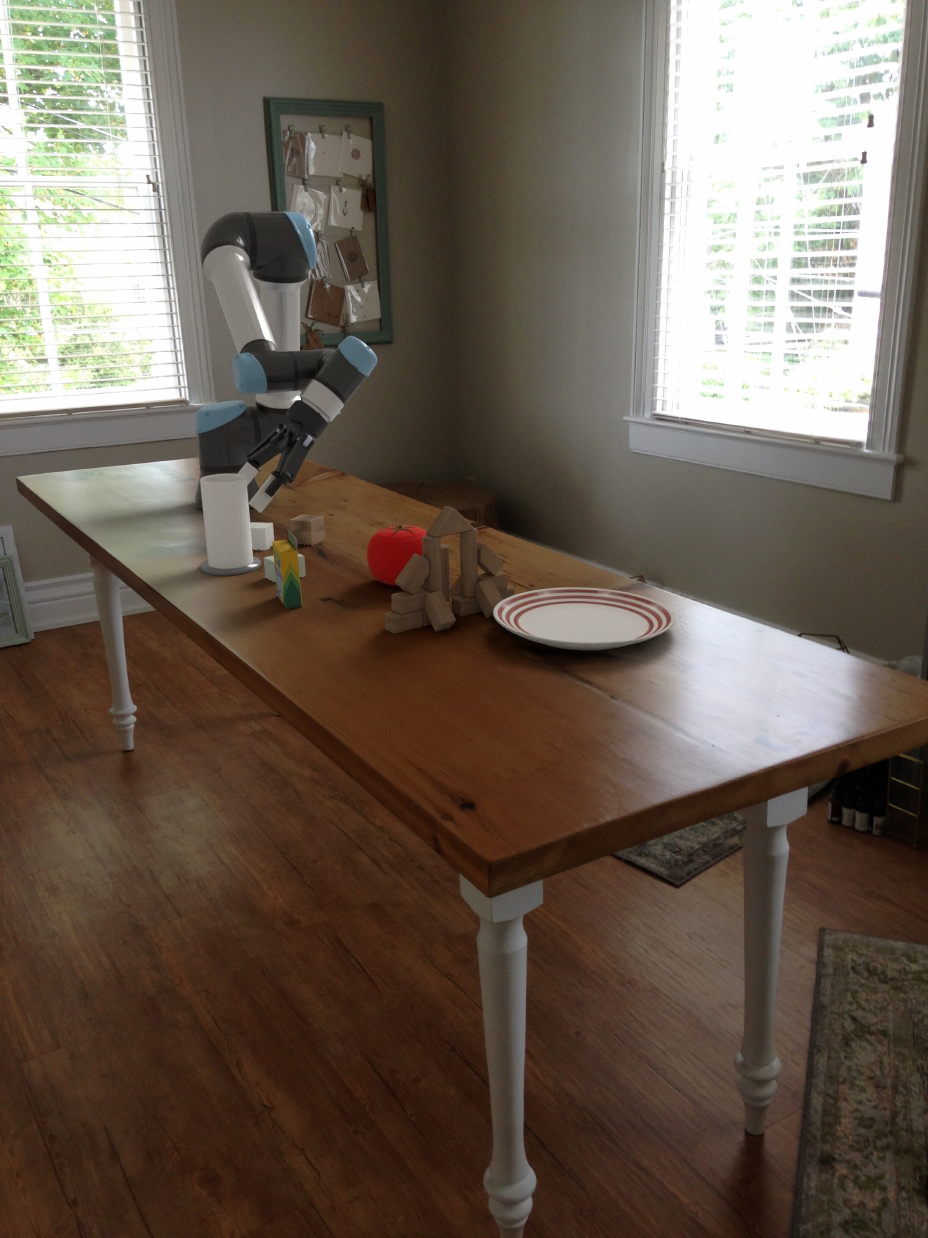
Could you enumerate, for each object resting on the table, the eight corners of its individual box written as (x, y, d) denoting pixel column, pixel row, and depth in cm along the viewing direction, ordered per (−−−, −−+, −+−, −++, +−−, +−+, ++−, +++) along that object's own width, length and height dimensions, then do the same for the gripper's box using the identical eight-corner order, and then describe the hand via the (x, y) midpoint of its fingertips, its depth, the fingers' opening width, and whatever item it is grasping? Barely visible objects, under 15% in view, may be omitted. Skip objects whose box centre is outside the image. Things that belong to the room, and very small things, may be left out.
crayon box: (276, 596, 177) (270, 530, 173) (293, 594, 178) (288, 528, 174) (284, 609, 171) (279, 540, 167) (302, 606, 171) (297, 538, 168)
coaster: (189, 567, 194) (188, 563, 194) (239, 555, 202) (239, 551, 201) (222, 579, 187) (221, 574, 187) (272, 566, 194) (272, 562, 194)
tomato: (375, 595, 177) (372, 535, 173) (362, 576, 187) (359, 519, 184) (443, 588, 180) (441, 529, 176) (427, 570, 190) (425, 514, 187)
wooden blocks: (411, 643, 155) (407, 526, 149) (368, 622, 164) (362, 511, 158) (539, 609, 169) (540, 501, 163) (493, 591, 178) (492, 488, 172)
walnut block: (291, 543, 210) (289, 519, 208) (304, 537, 214) (302, 514, 212) (312, 546, 208) (310, 521, 206) (325, 540, 212) (324, 516, 210)
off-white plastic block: (245, 549, 206) (243, 527, 204) (253, 544, 210) (251, 522, 209) (266, 550, 205) (265, 528, 204) (274, 544, 209) (272, 522, 208)
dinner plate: (560, 592, 177) (561, 573, 176) (706, 625, 161) (708, 604, 160) (456, 636, 158) (456, 616, 157) (610, 679, 141) (611, 656, 140)
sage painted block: (265, 578, 187) (263, 557, 186) (294, 572, 191) (293, 551, 190) (276, 583, 184) (274, 562, 183) (305, 577, 188) (304, 555, 187)
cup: (258, 556, 198) (251, 473, 192) (245, 569, 190) (238, 482, 185) (216, 556, 198) (208, 473, 193) (202, 568, 191) (193, 482, 185)
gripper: (354, 433, 185) (280, 527, 183) (304, 414, 205) (237, 499, 204) (324, 406, 181) (248, 501, 179) (276, 389, 201) (207, 475, 200)
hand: (242, 500), depth 191 cm, fingers open, 13 cm apart
